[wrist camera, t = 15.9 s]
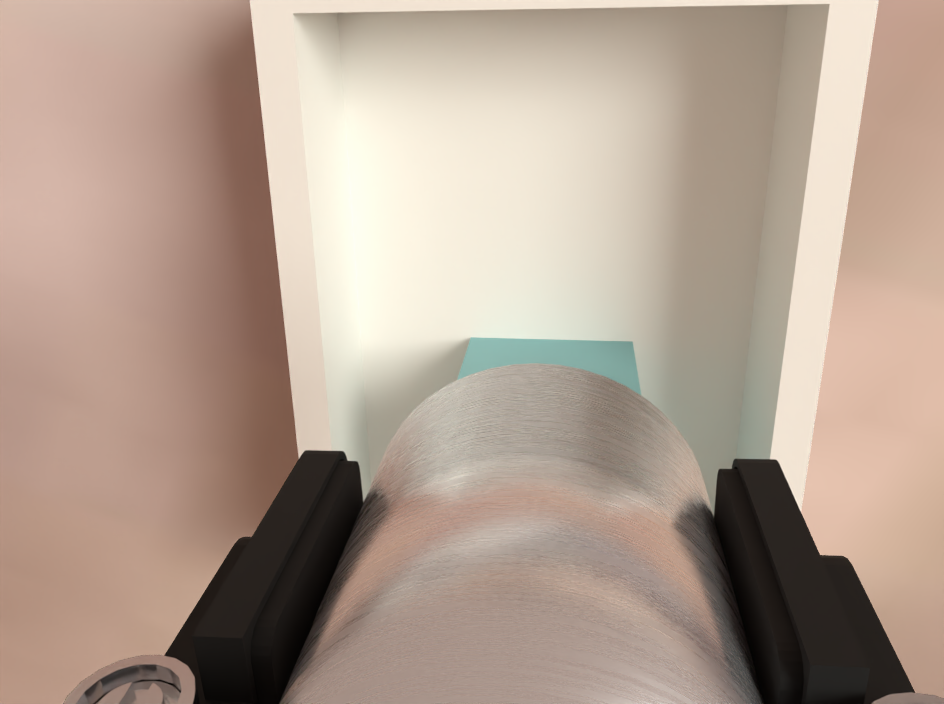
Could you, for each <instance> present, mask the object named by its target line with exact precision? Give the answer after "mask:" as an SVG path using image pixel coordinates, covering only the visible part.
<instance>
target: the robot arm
mask: <svg viewBox="0 0 944 704" xmlns="http://www.w3.org/2000/svg"><path fill="white" fill-rule="evenodd" d="M362 505H363V494H362V484H361V474H360V467H359V464H358V462H357V461H347V457H346V454H345V453H344V451H321V450H305V451H304V452H303V453H302V455H301V457H300V458H299V460H298V461H297V463H296V465H295V466H294V468H293V470H292V471H291V473H290V475H289V476H288V478H287V480H286V481H285V483H284V485H283V486H282V488H281V490H280V491H279V493H278V495H277V496H276V498H275V500H274V501H273V503H272V505H271V506H270V508H269V510H268V511H267V513H266V514H265V516H264V518H263V519H262V521H261V523H260V524H259V526H258V528H257V529H256V531H255V533H254V534H253V536H252V537H243V538H240V539H239V540H238V541H237V542H236V543H235V544H234V546H233V547H232V549H231V550H230V552H229V554H228V555H227V557H226V558H225V560H224V562H223V563H222V565H221V566H220V568H219V570H218V571H217V573H216V574H215V576H214V578H213V579H212V581H211V582H210V584H209V585H208V587H207V589H206V590H205V592H204V593H203V595H202V597H201V598H200V600H199V601H198V603H197V605H196V606H195V608H194V609H193V611H192V613H191V614H190V616H189V617H188V619H187V621H186V622H185V624H184V625H183V627H182V628H181V630H180V632H179V633H178V635H177V636H176V638H175V640H174V641H173V643H172V644H171V646H170V648H169V649H168V651H167V652H166V654H165V656H163V655H141V656H136V657H132V658H128V659H124V660H120V661H118V662H115V663H113V664H111V665H108V666H106V667H104V668H102V669H99V670H98V671H97V672H95V673H94V674H92V675H91V676H89V677H88V678H86V679H85V680H83V681H82V682H81V683H80V684H79V685H78V686H77V687H76V688H75V689H74V690H73V691H72V692H71V693H70V694H69V695H68V696H67V698H66V699H65V701H64V703H63V704H279V702H280V700H281V697H282V695H283V693H284V690H285V688H286V686H287V683H288V681H289V678H290V676H291V674H292V671H293V669H294V667H295V664H296V662H297V659H298V657H299V655H300V652H301V650H302V648H303V645H304V643H305V640H306V638H307V636H308V633H309V631H310V629H311V626H312V624H313V621H314V619H315V617H316V614H317V612H318V610H319V607H320V605H321V602H322V600H323V598H324V595H325V593H326V591H327V588H328V586H329V583H330V581H331V579H332V576H333V574H334V572H335V569H336V567H337V564H338V562H339V560H340V557H341V555H342V553H343V550H344V548H345V546H346V543H347V541H348V538H349V536H350V534H351V531H352V529H353V527H354V524H355V522H356V519H357V517H358V515H359V512H360V510H361V508H362ZM714 520H715V524H716V527H717V531H718V535H719V538H720V542H721V546H722V549H723V553H724V557H725V560H726V564H727V568H728V571H729V575H730V579H731V582H732V586H733V590H734V594H735V597H736V601H737V605H738V608H739V612H740V616H741V619H742V623H743V627H744V630H745V634H746V638H747V641H748V645H749V649H750V653H751V656H752V660H753V664H754V667H755V671H756V675H757V678H758V682H759V686H760V689H761V693H762V697H763V700H764V704H944V698H941V697H938V696H934V695H928V694H920V693H915V691H914V689H913V687H912V685H911V683H910V681H909V679H908V677H907V675H906V673H905V671H904V669H903V667H902V665H901V663H900V661H899V659H898V657H897V655H896V653H895V651H894V649H893V647H892V645H891V643H890V641H889V639H888V637H887V635H886V633H885V631H884V629H883V627H882V625H881V622H880V620H879V618H878V616H877V614H876V612H875V610H874V608H873V606H872V604H871V602H870V600H869V598H868V596H867V594H866V592H865V590H864V588H863V586H862V584H861V582H860V580H859V578H858V576H857V574H856V572H855V570H854V568H853V566H852V564H851V563H850V561H849V560H848V558H846V557H844V556H826V555H820V554H819V552H818V550H817V547H816V545H815V543H814V541H813V538H812V536H811V534H810V532H809V529H808V527H807V525H806V523H805V520H804V518H803V516H802V514H801V511H800V509H799V507H798V505H797V502H796V500H795V498H794V496H793V493H792V491H791V489H790V487H789V484H788V482H787V480H786V478H785V475H784V473H783V471H782V469H781V466H780V464H779V462H778V461H777V460H775V459H734V461H733V464H732V469H719V470H718V474H717V484H716V496H715V509H714Z"/></svg>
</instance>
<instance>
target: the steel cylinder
mask: <svg viewBox="0 0 944 704" xmlns="http://www.w3.org/2000/svg"><path fill="white" fill-rule="evenodd" d="M279 704H764V700H763V697H762V693H761V689H760V686H759V682H758V678H757V675H756V671H755V667H754V664H753V660H752V656H751V653H750V649H749V645H748V641H747V638H746V634H745V630H744V627H743V623H742V619H741V616H740V612H739V608H738V605H737V601H736V597H735V594H734V590H733V586H732V582H731V579H730V575H729V571H728V568H727V564H726V560H725V557H724V553H723V549H722V546H721V542H720V538H719V535H718V531H717V527H716V524H715V520H714V516H713V512H712V509H711V505H710V501H709V498H708V494H707V490H706V487H705V483H704V480H703V477H702V474H701V471H700V467H699V464H698V462H697V460H696V458H695V456H694V454H693V452H692V450H691V448H690V446H689V444H688V443H687V441H686V440H685V439H684V437H683V436H682V434H681V433H680V431H679V430H678V429H677V427H676V426H675V425H674V424H673V423H672V422H671V421H670V420H669V419H668V418H667V417H666V415H665V414H664V413H663V412H662V411H660V410H659V409H658V408H657V407H656V406H654V405H653V404H652V403H651V402H649V401H648V400H647V399H646V398H644V397H643V396H641V395H640V394H638V393H636V392H635V391H633V390H632V389H630V388H628V387H627V386H625V385H623V384H621V383H618V382H616V381H614V380H612V379H610V378H607V377H605V376H602V375H599V374H596V373H593V372H590V371H587V370H584V369H579V368H574V367H568V366H563V365H555V364H540V363H530V364H512V365H507V366H501V367H495V368H490V369H487V370H483V371H480V372H477V373H474V374H470V375H468V376H465V377H463V378H461V379H459V380H457V381H454V382H452V383H450V384H448V385H446V386H445V387H443V388H442V389H440V390H439V391H437V392H435V393H434V394H432V395H431V396H429V397H428V398H427V399H426V400H425V401H423V402H422V403H421V404H420V405H419V406H417V407H416V408H415V409H414V410H413V411H412V412H411V414H410V415H409V416H408V417H407V418H406V419H405V420H404V421H403V422H402V424H401V425H400V427H399V428H398V430H397V431H396V433H395V434H394V436H393V437H392V439H391V440H390V442H389V445H388V447H387V449H386V451H385V453H384V455H383V458H382V460H381V462H380V465H379V467H378V470H377V472H376V474H375V477H374V479H373V481H372V484H371V486H370V489H369V491H368V493H367V496H366V498H365V500H364V503H363V505H362V508H361V510H360V512H359V515H358V517H357V519H356V522H355V524H354V527H353V529H352V531H351V534H350V536H349V538H348V541H347V543H346V546H345V548H344V550H343V553H342V555H341V557H340V560H339V562H338V564H337V567H336V569H335V572H334V574H333V576H332V579H331V581H330V583H329V586H328V588H327V591H326V593H325V595H324V598H323V600H322V602H321V605H320V607H319V610H318V612H317V614H316V617H315V619H314V621H313V624H312V626H311V629H310V631H309V633H308V636H307V638H306V640H305V643H304V645H303V648H302V650H301V652H300V655H299V657H298V659H297V662H296V664H295V667H294V669H293V671H292V674H291V676H290V678H289V681H288V683H287V686H286V688H285V690H284V693H283V695H282V697H281V700H280V702H279Z"/></svg>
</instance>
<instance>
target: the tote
mask: <svg viewBox="0 0 944 704" xmlns="http://www.w3.org/2000/svg"><path fill="white" fill-rule="evenodd" d="M878 1H879V0H250V8H251V17H252V27H253V36H254V45H255V55H256V64H257V73H258V83H259V92H260V101H261V111H262V120H263V129H264V139H265V148H266V158H267V167H268V176H269V186H270V195H271V204H272V214H273V223H274V232H275V242H276V251H277V260H278V270H279V279H280V288H281V298H282V307H283V316H284V326H285V335H286V344H287V354H288V363H289V373H290V382H291V391H292V401H293V410H294V419H295V429H296V438H297V447H298V457H299V458H300V457H301V455H302V453H303V452H304V451H305V450H321V451H344V453H345V454H346V457H347V461H357V462H358V464H359V467H360V474H361V484H362V494H363V503H364V500H365V498H366V496H367V493H368V491H369V489H370V486H371V484H372V481H373V479H374V477H375V474H376V472H377V470H378V467H379V465H380V462H381V460H382V458H383V455H384V453H385V451H386V449H387V447H388V445H389V442H390V440H391V439H392V437H393V436H394V434H395V433H396V431H397V430H398V428H399V427H400V425H401V424H402V422H403V421H404V420H405V419H406V418H407V417H408V416H409V415H410V414H411V412H412V411H413V410H414V409H415V408H416V407H417V406H419V405H420V404H421V403H422V402H423V401H425V400H426V399H427V398H428V397H429V396H431V395H432V394H434V393H435V392H437V391H439V390H440V389H442V388H443V387H445V386H446V385H448V384H450V383H452V382H454V381H457V379H458V376H459V372H460V369H461V366H462V363H463V360H464V357H465V354H466V351H467V348H468V345H469V341H470V338H471V337H476V338H515V339H554V340H593V341H632V342H633V347H634V353H635V359H636V365H637V372H638V378H639V384H640V390H641V396H643V397H644V398H646V399H647V400H648V401H649V402H651V403H652V404H653V405H654V406H656V407H657V408H658V409H659V410H660V411H662V412H663V413H664V414H665V415H666V417H667V418H668V419H669V420H670V421H671V422H672V423H673V424H674V425H675V426H676V427H677V429H678V430H679V431H680V433H681V434H682V436H683V437H684V439H685V440H686V441H687V443H688V444H689V446H690V448H691V450H692V452H693V454H694V456H695V458H696V460H697V462H698V464H699V467H700V471H701V474H702V477H703V480H704V483H705V487H706V490H707V494H708V498H709V501H710V505H711V509H712V512H713V516H714V509H715V496H716V484H717V474H718V470H719V469H732V464H733V461H734V459H775V460H777V461H778V462H779V464H780V466H781V469H782V471H783V473H784V475H785V478H786V480H787V482H788V484H789V487H790V489H791V491H792V493H793V496H794V498H795V500H796V502H797V505H798V507H799V509H800V511H801V510H802V503H803V496H804V490H805V483H806V477H807V470H808V463H809V457H810V450H811V444H812V437H813V430H814V424H815V417H816V411H817V404H818V397H819V391H820V384H821V378H822V371H823V364H824V358H825V351H826V345H827V338H828V331H829V325H830V318H831V312H832V305H833V298H834V292H835V285H836V279H837V272H838V265H839V259H840V252H841V246H842V239H843V232H844V226H845V219H846V213H847V206H848V199H849V193H850V186H851V180H852V173H853V166H854V160H855V153H856V147H857V140H858V133H859V127H860V120H861V114H862V107H863V100H864V94H865V87H866V81H867V74H868V67H869V61H870V54H871V48H872V41H873V34H874V28H875V21H876V15H877V8H878Z"/></svg>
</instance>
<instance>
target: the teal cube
mask: <svg viewBox="0 0 944 704" xmlns="http://www.w3.org/2000/svg"><path fill="white" fill-rule="evenodd" d="M530 363H540V364H555V365H563V366H568V367H574V368H579V369H584V370H587V371H590V372H593V373H596V374H599V375H602V376H605V377H607V378H610V379H612V380H614V381H616V382H618V383H621V384H623V385H625V386H627V387H628V388H630V389H632V390H633V391H635V392H636V393H638V394H640V395H641V390H640V384H639V378H638V372H637V365H636V359H635V353H634V347H633V342H632V341H593V340H554V339H515V338H476V337H471V338H470V341H469V345H468V348H467V351H466V354H465V357H464V360H463V363H462V366H461V369H460V372H459V376H458V379H457V380H459V379H461V378H463V377H465V376H468V375H470V374H474V373H477V372H480V371H483V370H487V369H490V368H495V367H501V366H507V365H512V364H530Z"/></svg>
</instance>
